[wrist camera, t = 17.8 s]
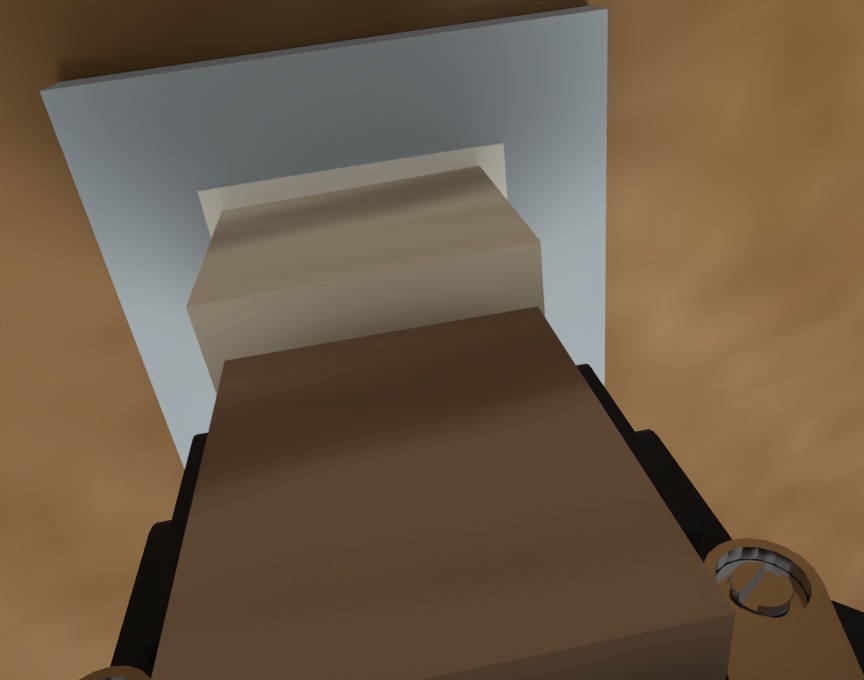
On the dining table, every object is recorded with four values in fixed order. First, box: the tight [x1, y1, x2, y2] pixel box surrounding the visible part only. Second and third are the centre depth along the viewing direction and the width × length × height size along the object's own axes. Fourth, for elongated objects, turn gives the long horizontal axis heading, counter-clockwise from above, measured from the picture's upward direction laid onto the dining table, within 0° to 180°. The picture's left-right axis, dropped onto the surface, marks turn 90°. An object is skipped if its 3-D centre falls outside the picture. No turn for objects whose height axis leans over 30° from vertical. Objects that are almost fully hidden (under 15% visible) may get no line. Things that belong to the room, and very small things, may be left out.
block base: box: [186, 166, 545, 394], centre depth 15 cm, size 6×6×5 cm
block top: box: [151, 306, 736, 680], centre depth 9 cm, size 5×5×6 cm
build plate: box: [40, 6, 608, 469], centre depth 18 cm, size 12×12×1 cm
